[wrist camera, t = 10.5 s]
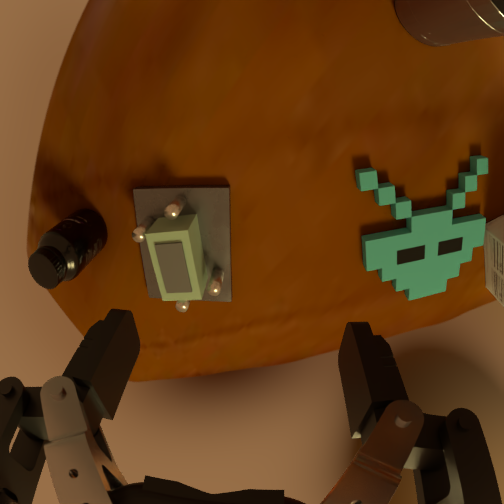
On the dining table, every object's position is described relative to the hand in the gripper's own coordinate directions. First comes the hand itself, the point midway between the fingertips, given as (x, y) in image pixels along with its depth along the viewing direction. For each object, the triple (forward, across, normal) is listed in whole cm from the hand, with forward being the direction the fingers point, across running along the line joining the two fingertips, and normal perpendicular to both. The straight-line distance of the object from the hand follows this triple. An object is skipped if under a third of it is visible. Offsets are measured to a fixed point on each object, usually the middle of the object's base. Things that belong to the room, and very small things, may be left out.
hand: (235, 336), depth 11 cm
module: (+26, +9, +11) cm, 30 cm away
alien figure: (+29, -24, +7) cm, 38 cm away
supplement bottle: (+28, +24, +9) cm, 37 cm away
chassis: (+27, +9, +11) cm, 31 cm away
